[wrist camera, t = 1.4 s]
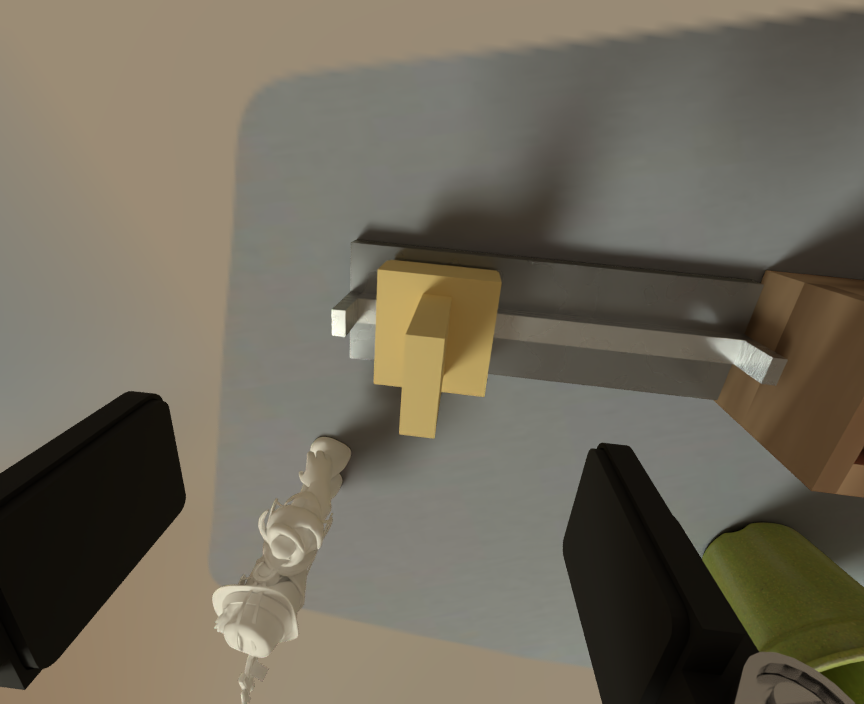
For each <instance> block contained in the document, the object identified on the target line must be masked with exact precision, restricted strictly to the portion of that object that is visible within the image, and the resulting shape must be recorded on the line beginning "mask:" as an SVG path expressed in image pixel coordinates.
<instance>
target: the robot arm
mask: <svg viewBox="0 0 864 704" xmlns="http://www.w3.org/2000/svg"><path fill="white" fill-rule="evenodd" d="M185 500H186V494H185V488H184V483H183V478H182V472H181V467H180V462H179V457H178V452H177V446H176V441H175V436H174V430H173V425H172V420H171V415H170V410H169V406H168V404H167V403H166V402H164V401H163V400H162V398H161V397H160V396H159V395H157V394H153V393H144V392H134V391H128V392H126V393H124V394H122V395H121V396H119V397H118V398H116V399H114V400H113V401H111V402H110V403H108V404H107V405H105V406H104V407H102V408H101V409H99V410H97V411H96V412H94V413H93V414H91V415H90V416H88V417H87V418H85V419H84V420H82V421H80V422H79V423H77V424H76V425H74V426H73V427H71V428H70V429H68V430H67V431H65V432H64V433H62V434H60V435H59V436H57V437H56V438H55V439H53V440H51V441H50V442H48V443H47V444H45V445H43V446H42V447H40V448H39V449H38V450H36V451H35V452H33V453H31V454H30V455H28V456H26V457H25V458H23V459H22V460H20V461H19V462H17V463H16V464H14V465H13V466H11V467H9V468H8V469H6V470H5V471H4V472H2V473H0V687H7V688H15V689H22V690H25V689H26V688H27V687H28V686H29V684H30V683H31V682H32V681H33V680H34V678H35V677H36V676H37V675H38V674H39V673H40V672H41V670H42V669H44V668H47V667H49V666H51V665H52V664H53V663H54V662H56V661H57V659H58V658H59V657H60V656H61V655H62V654H63V653H64V651H65V650H66V649H67V648H68V647H69V645H70V644H71V643H72V642H73V641H74V639H75V638H76V637H77V636H78V634H79V633H80V632H81V631H82V630H83V629H84V627H85V626H86V625H87V624H88V623H89V621H90V620H91V619H92V618H93V617H94V615H95V614H96V613H97V611H99V609H100V608H101V607H102V606H103V605H104V603H105V602H106V601H107V600H108V599H109V597H110V596H111V595H112V594H113V592H114V591H115V590H116V589H117V588H118V587H119V585H120V584H121V583H122V581H124V579H125V578H126V577H127V576H128V575H129V573H130V572H131V571H132V570H133V569H134V567H135V566H136V565H137V564H138V562H139V561H140V560H141V559H142V558H143V557H144V555H145V554H146V553H147V552H148V551H149V549H150V548H151V547H152V546H153V545H154V543H155V542H156V541H157V540H158V539H159V537H160V536H161V535H162V534H163V533H164V531H165V530H166V529H167V528H168V527H169V525H170V524H171V523H172V522H173V521H174V519H175V518H176V517H177V516H178V514H179V513H180V512H181V511H182V509H183V507H184V504H185ZM563 556H564V560H565V564H566V568H567V571H568V575H569V579H570V583H571V587H572V590H573V594H574V598H575V602H576V606H577V609H578V613H579V617H580V621H581V625H582V628H583V632H584V636H585V640H586V643H587V647H588V651H589V655H590V659H591V662H592V666H593V670H594V674H595V677H596V681H597V685H598V689H599V693H600V696H601V700H602V704H855V702H854V701H853V700H851V699H850V698H849V697H848V696H847V695H846V694H845V693H844V692H843V691H842V690H841V689H840V688H839V687H838V686H837V685H836V684H834V683H833V682H832V681H830V680H829V679H828V678H826V677H825V676H823V675H822V674H821V673H819V672H818V671H816V670H815V669H814V668H812V667H810V666H808V665H806V664H804V663H802V662H800V661H798V660H797V659H795V658H792V657H789V656H786V655H783V654H779V653H776V652H759V651H758V649H757V647H756V646H755V644H754V643H753V641H752V639H751V638H750V636H749V634H748V633H747V631H746V630H745V628H744V626H743V625H742V623H741V622H740V620H739V618H738V617H737V615H736V614H735V612H734V610H733V609H732V607H731V605H730V604H729V602H728V601H727V599H726V597H725V596H724V594H723V593H722V591H721V589H720V588H719V586H718V585H717V583H716V581H715V580H714V578H713V576H712V575H711V573H710V572H709V570H708V568H707V567H706V565H705V564H704V562H703V560H702V559H701V557H700V556H699V554H698V552H697V551H696V549H695V547H694V546H693V544H692V543H691V541H690V539H689V538H688V536H687V535H686V533H685V531H684V530H683V528H682V527H681V525H680V523H679V522H678V521H677V520H676V518H675V517H674V516H673V515H672V513H671V512H670V510H669V508H668V507H667V505H666V504H665V502H664V500H663V499H662V497H661V495H660V494H659V492H658V491H657V489H656V487H655V486H654V484H653V482H652V481H651V479H650V478H649V476H648V474H647V473H646V471H645V469H644V468H643V466H642V465H641V463H640V461H639V460H638V458H637V456H636V455H635V453H634V452H633V450H632V449H631V448H630V446H627V445H618V444H609V443H600V444H599V445H598V447H597V449H590V450H589V452H588V455H587V458H586V462H585V465H584V469H583V473H582V476H581V480H580V483H579V487H578V490H577V494H576V497H575V501H574V504H573V508H572V511H571V515H570V518H569V522H568V525H567V529H566V533H565V536H564V540H563Z"/></svg>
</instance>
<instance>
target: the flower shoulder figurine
mask: <svg viewBox="0 0 864 704" xmlns="http://www.w3.org/2000/svg"><path fill="white" fill-rule="evenodd" d="M350 457H351V450H350V448H349V447H347V446H346V445H345V444H343V443H341V442H339V441H337V440H335V439H332V438H329V437H319V438H317V439H316V440H315V441H314V442H313V443H312V445H311V448H310V452H308V454H307V465H306V471H305V472H303V471H300V472H299V477H300V480H301V482H302V483H303V486H302V489H301V492H300V493H298V494H295V495H293V496H292V497H290V498H289V499H288V500H287V501H286V503H285V504H284V506H283V505H281V504H280V503H279V502H278V499H275V501H274V503H273V505H272V508H271V511H270V515H269V519H268V523H267V527H266V526H265V524H264V519H265V517H266V515H267V513H268V511H269V510H266V511H265V512H264V513H263V514H262V515H261V516H260V518H259V524H258V526H259V529H260V533H261V534H262V536H263V538H264V539H265V540H264V544H263V556H262V557H261V558H260V559H258V560H257V561H256V565H255V567H254V569H253V570H252V572H251V574H250V576H249V577H247V578H245V577H246V576H245V575H243V576H242V577H241V578H240V581H239V583H238V585H226V586H222V587H220V588H219V589H217V590H216V591H215V593H214V594H213V598H212V601H213V606H214V609H215V611H216V613H217V615H218V619H217V620H216V621H215V622H216V623H217V624H216V626H215V627H214V628H215V629H216V628H217V631H218V632H220V631H221V633H224V637H225V640H226V641H227V643H228V644H229V645H230V647H232V648H233V649H236V650H239V651H241V652H244V653H247V654H249V655H248V658H247V661H246V667H245V673H241V675H240V676H239V679H238V682H239V684H240V686H241V688H242V692H241V700H242V704H247V702H248V703H249V702H250V700H251V697H249V694H250V692H251V691H252V690H253V689H254V687H255V684H254V677H256V678H258V679H259V680H260V681H263V680H264V678H265V676H266V674H267V671H268V670H269V669H268V668H267V667H265V666H264V665H262V664H261V663H259V662H258V660H257V659H258V658H265V657H267V656H268V655H269V654H270V653H271V652H272V651H273V650H274V648H275V647H276V645H277V644H278V643H280V642H286V641H290V640H293V639H296V638H297V637H298V634H299V631H298V622H297V612H298V611H299V610H300V609H301V608H302V606H303V605H304V601H305V589H306V579H307V575H308V572H309V570H310V567H311V565H312V563H313V560H314V558H315V556H316V554H317V551H318V549H319V548H320V547H321V545H322V542H323V539H324V537H325V536H326V534H327V532H328V530H329V529H330V527H331V524H332V521H333V519H332V514H333V513H331V515H330V518H329V519H328V520H325V519H326V517H327V516H328V515H329V513H330V511H331V499H332V498H334V497H335V496H336V494H337V493H338V491H339V489H340V488H341V485H342V481H343V480H342V477H341V475H340V474H339V473H340V472H341V471H342V470H343V469H344V468H345V467H346V465H347V463H348V462H349V460H350ZM293 499H294V501H293V502H292V504H290V505H286V504H287V503H288V502H289V501H291V500H293ZM276 504H277V505H279V506H280V507H279V508H278V509H277V510H275V507H276ZM274 510H275V511H274ZM323 523H327V525H326V527H325V530H324V525H323ZM328 524H329V526H328ZM327 526H328V527H327ZM316 548H317V549H316ZM315 549H316V550H315ZM309 565H310V566H309ZM308 566H309V568H308V571H307V567H308ZM246 579H248V580H247V582H246V584H245V585H244V583H245V580H246Z"/></svg>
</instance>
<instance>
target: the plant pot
mask: <svg viewBox="0 0 864 704" xmlns="http://www.w3.org/2000/svg"><path fill="white" fill-rule="evenodd" d="M702 560H703V562H704V564H705V565H706V567H707V568H708V570H709V572H710V573H711V575H712V576H713V578H714V580H715V581H716V583H717V585H718V586H719V588H720V589H721V591H722V593H723V594H724V596H725V597H726V599H727V601H728V602H729V604H730V605H731V607H732V609H733V610H734V612H735V614H736V615H737V617H738V618H739V620H740V622H741V623H742V625H743V626H744V628H745V630H746V631H747V633H748V634H749V636H750V638H751V639H752V641H753V643H754V644H755V646H756V647H757V649H758V651H759V652H776V653H779V654H783V655H786V656H789V657H792V658H795V659H797V660H798V661H800V662H802V663H804V664H806V665H808V666H810V667H812V668H814V669H815V670H816V671H818V672H819V673H821V674H822V675H823V676H825V677H826V678H828V679H829V680H830V681H832V682H833V683H834V684H836V685H837V686H838V687H839V688H840V689H841V690H842V691H843V692H844V693H845V694H846V695H847V696H848V697H849V698H850V699H851V700H853V701H854V702H855V704H864V587H863V586H862V585H860V584H859V583H858V582H857V581H856V580H854V579H853V578H852V577H851V576H850V575H848V574H847V573H846V572H845V571H844V570H842V569H841V568H840V567H839V566H838V565H836V564H835V563H834V562H833V561H832V560H831V559H829V558H828V557H827V556H826V555H825V554H824V553H822V552H821V551H820V550H819V549H818V548H816V547H815V546H814V545H813V544H812V543H810V542H809V541H808V540H807V539H806V538H805V537H803V536H802V535H801V534H800V533H798V532H797V531H795V530H794V529H792V528H790V527H787V526H784V525H781V524H776V523H752V524H749V525H748V526H746V527H745V528H744V529H742V530H740V531H737V532H732V533H724V534H722V535H720V536H719V537H718V538H716V539H715V540H714V541H713V542H712V543H711V544H710V545H709V547H708V548H707V549H706V551H705V553H704V555H703V558H702Z"/></svg>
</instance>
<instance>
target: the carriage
mask: <svg viewBox="0 0 864 704" xmlns="http://www.w3.org/2000/svg"><path fill="white" fill-rule="evenodd" d="M501 284H502V282H501V278H500V274H499V272H497V271H496V270H486V269H477V268H467V267H457V266H448V265H438V264H428V263H419V262H409V261H399V260H390V261H389V260H387V261H386V262H385V263H384V264H383V265H382V266H381V267H380V268H379V269H378V272H377V301H376V331H375V360H374V384H380V385H388V386H397V387H402V395H401V411H400V426H399V434H402V435H410V436H418V437H426V438H435V431H436V424H437V417H438V411H439V404H440V397H441V392H447V393H456V394H464V395H472V396H481V397H484V395H485V389H486V382H487V375H488V369H489V362H490V356H491V349H492V343H493V336H494V330H495V323H496V317H497V310H498V304H499V297H500V291H501Z"/></svg>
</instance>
